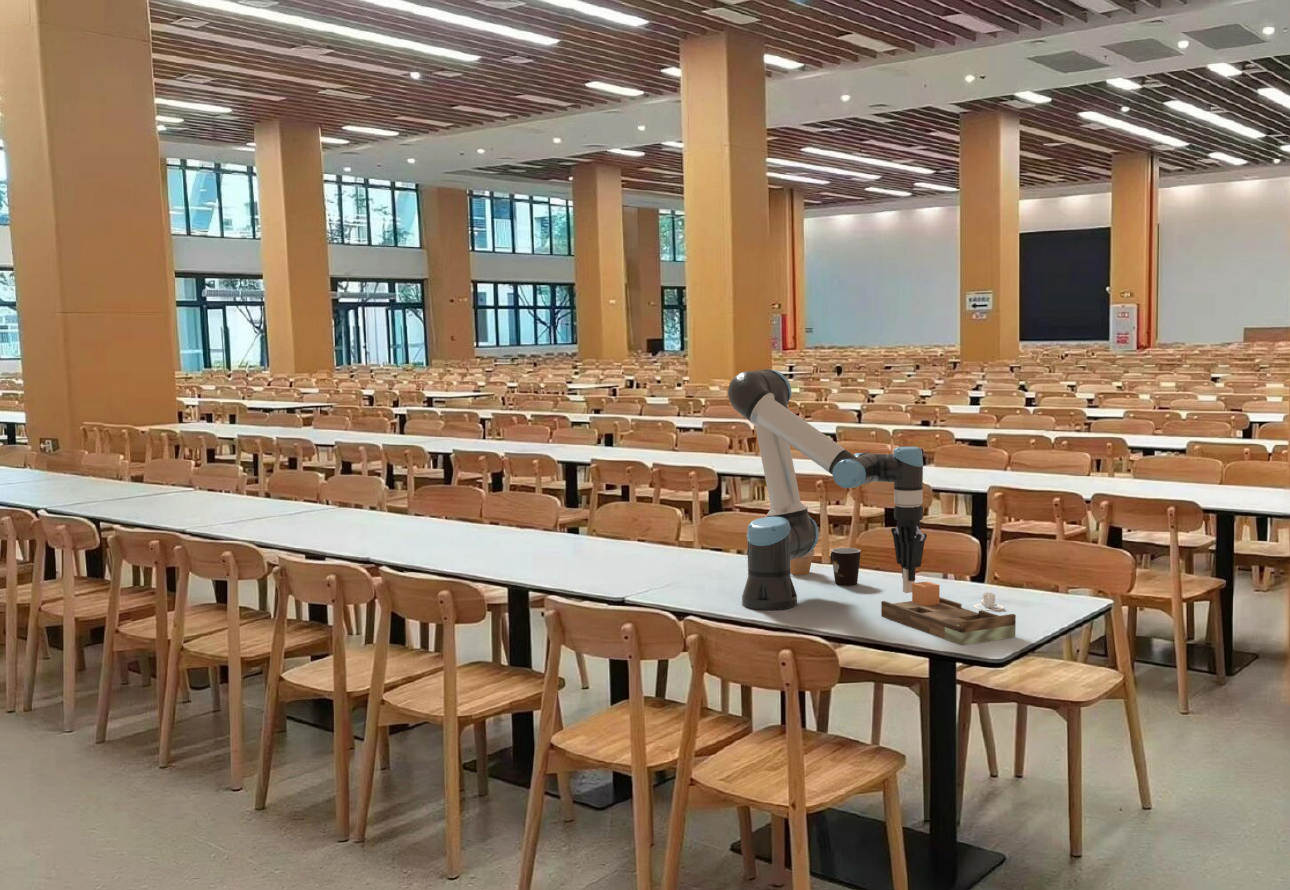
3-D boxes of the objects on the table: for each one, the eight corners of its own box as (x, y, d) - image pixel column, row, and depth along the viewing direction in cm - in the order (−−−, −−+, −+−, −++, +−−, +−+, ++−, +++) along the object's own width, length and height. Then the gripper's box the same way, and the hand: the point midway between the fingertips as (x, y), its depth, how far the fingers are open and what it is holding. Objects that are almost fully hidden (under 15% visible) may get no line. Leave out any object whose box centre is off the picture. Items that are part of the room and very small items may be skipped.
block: (923, 605, 316) (923, 586, 316) (912, 601, 321) (912, 583, 320) (939, 603, 318) (939, 584, 318) (927, 599, 323) (927, 581, 322)
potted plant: (777, 572, 378) (776, 493, 376) (802, 568, 382) (801, 490, 380) (796, 577, 369) (795, 497, 367) (821, 573, 374) (821, 494, 371)
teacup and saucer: (982, 603, 332) (982, 588, 332) (1010, 607, 327) (1010, 592, 326) (968, 609, 325) (968, 594, 325) (996, 613, 320) (996, 598, 320)
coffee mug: (863, 586, 354) (862, 552, 353) (833, 587, 354) (833, 553, 353) (857, 578, 366) (856, 545, 365) (828, 579, 366) (828, 546, 365)
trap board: (961, 645, 288) (961, 622, 288) (881, 616, 318) (881, 595, 318) (1015, 636, 294) (1015, 614, 294) (931, 609, 325) (931, 589, 324)
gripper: (935, 506, 319) (935, 595, 322) (905, 500, 331) (905, 586, 333) (911, 509, 316) (911, 598, 319) (882, 503, 328) (883, 589, 330)
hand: (908, 591), depth 326 cm, fingers closed
